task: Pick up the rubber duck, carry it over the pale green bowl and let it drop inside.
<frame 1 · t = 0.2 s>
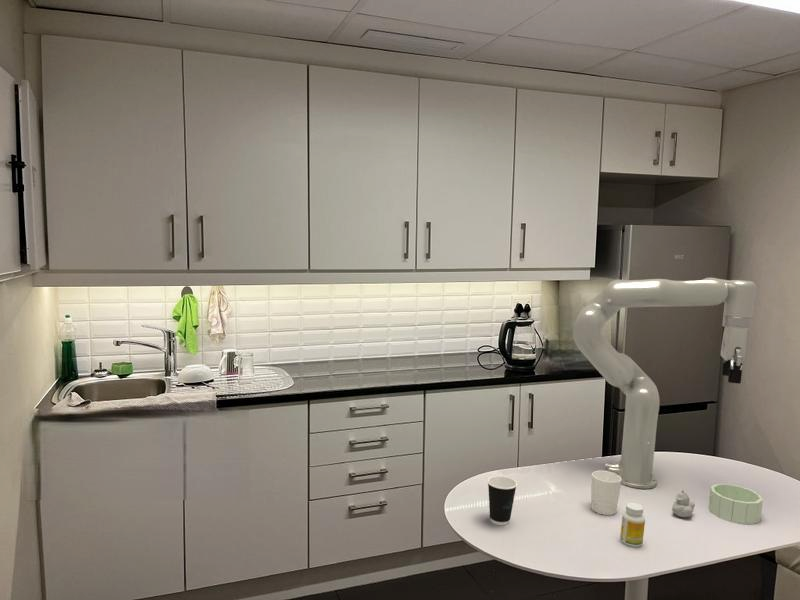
hand: (730, 379, 178), 36 cm above the table, tool pointing down, fingers open, 9 cm apart
pale green bowl: (733, 513, 170), on the table
dixie cup: (499, 521, 160), on the table
rubber duck: (682, 516, 168), on the table
white cup: (603, 510, 169), on the table
supplement bottle: (631, 542, 152), on the table
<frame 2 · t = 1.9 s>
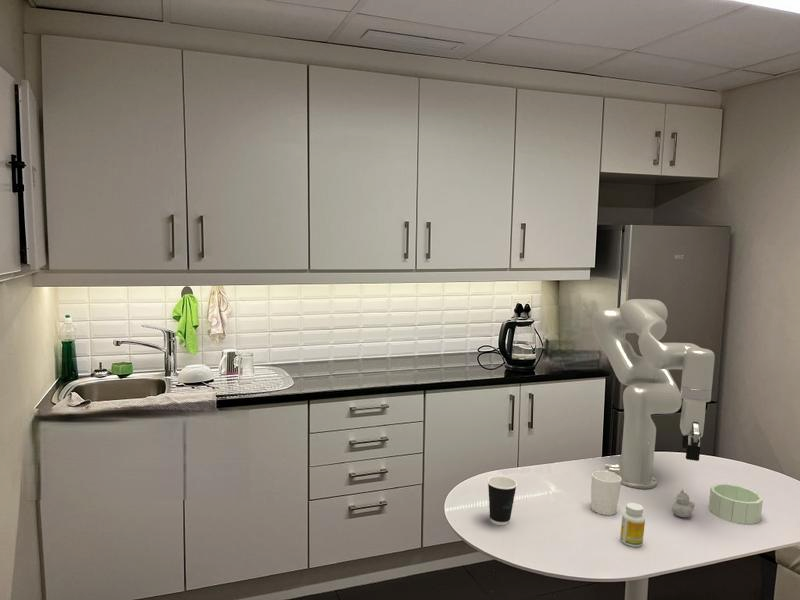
hand: (690, 453, 165), 18 cm above the table, tool pointing down, fingers open, 9 cm apart
nothing on the table moved.
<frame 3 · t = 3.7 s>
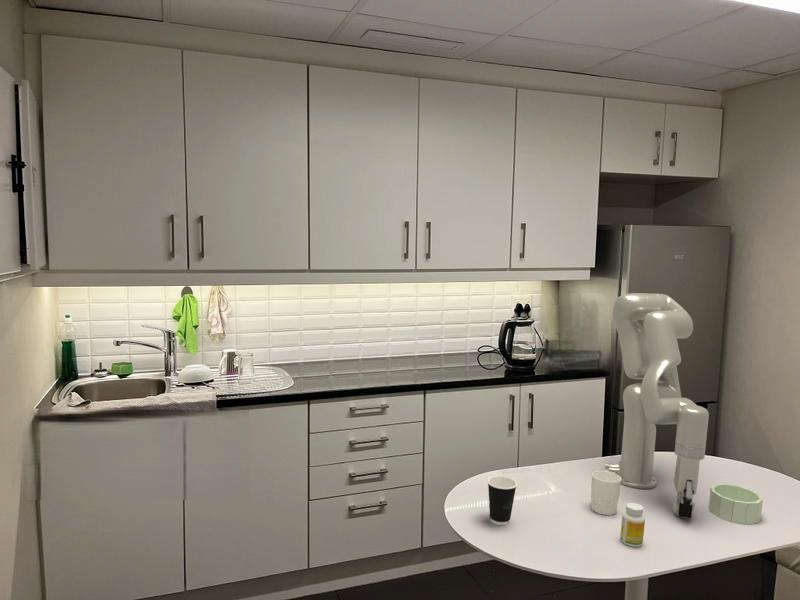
hand: (683, 511, 167), 1 cm above the table, tool pointing down, fingers closed on rubber duck, 5 cm apart
rubber duck: (682, 516, 168), on the table, touching gripper
everything else where it was.
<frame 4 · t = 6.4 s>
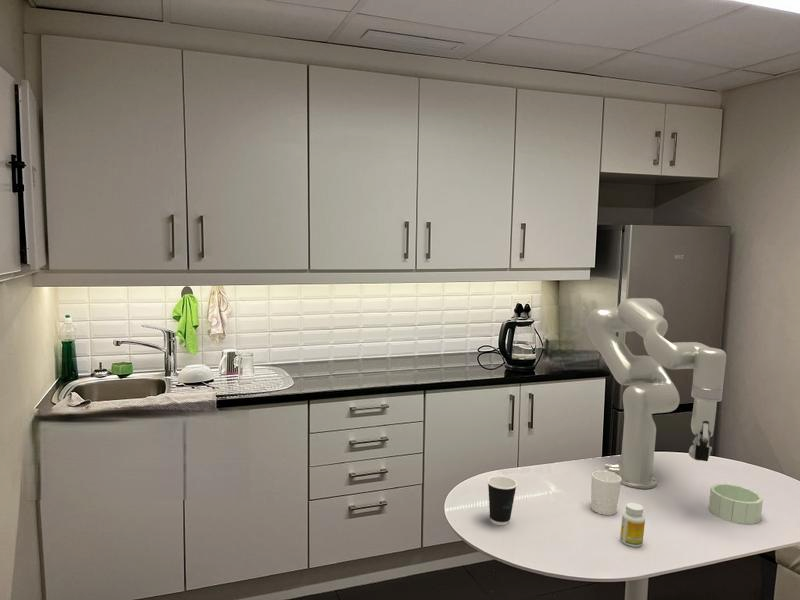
hand: (700, 455, 166), 17 cm above the table, tool pointing down, fingers closed on rubber duck, 5 cm apart
rubber duck: (699, 460, 166), point 16 cm above the table, touching gripper
everything else where it was.
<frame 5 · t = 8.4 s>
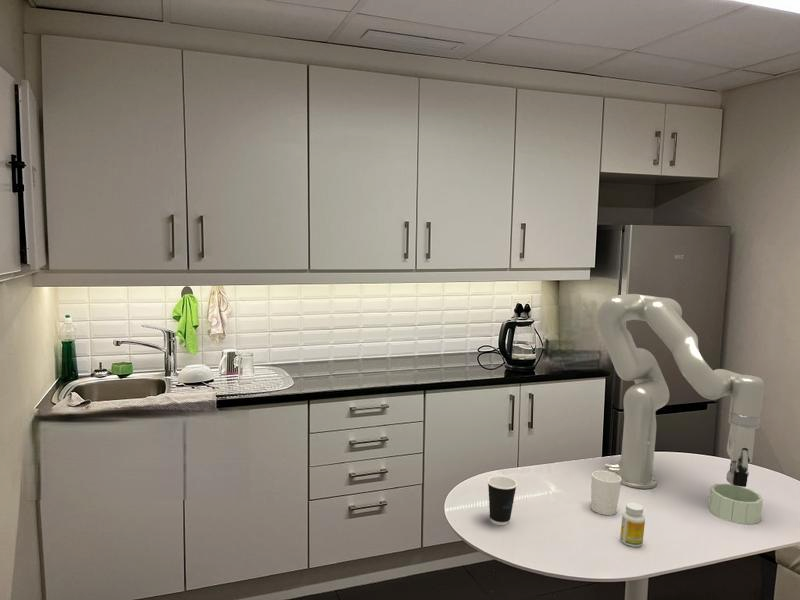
hand: (737, 481, 169), 10 cm above the table, tool pointing down, fingers closed on rubber duck, 5 cm apart
rubber duck: (736, 485, 169), point 8 cm above the table, touching gripper
everything else where it was.
when the fingers open (9 cm above the table, at t = 9.2 s): rubber duck drops 7 cm, resting on pale green bowl.
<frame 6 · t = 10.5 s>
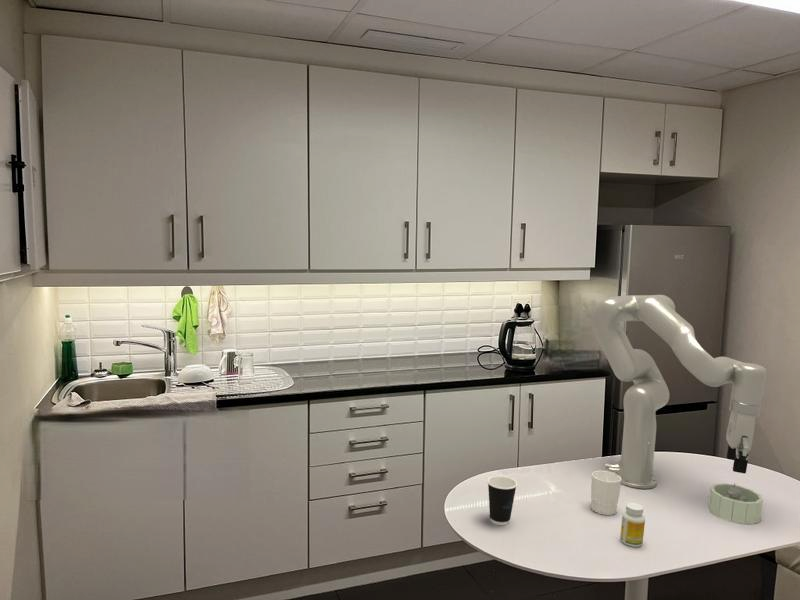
hand: (735, 465, 169), 14 cm above the table, tool pointing down, fingers open, 9 cm apart
rubber duck: (734, 510, 170), point 1 cm above the table, touching pale green bowl
everything else where it was.
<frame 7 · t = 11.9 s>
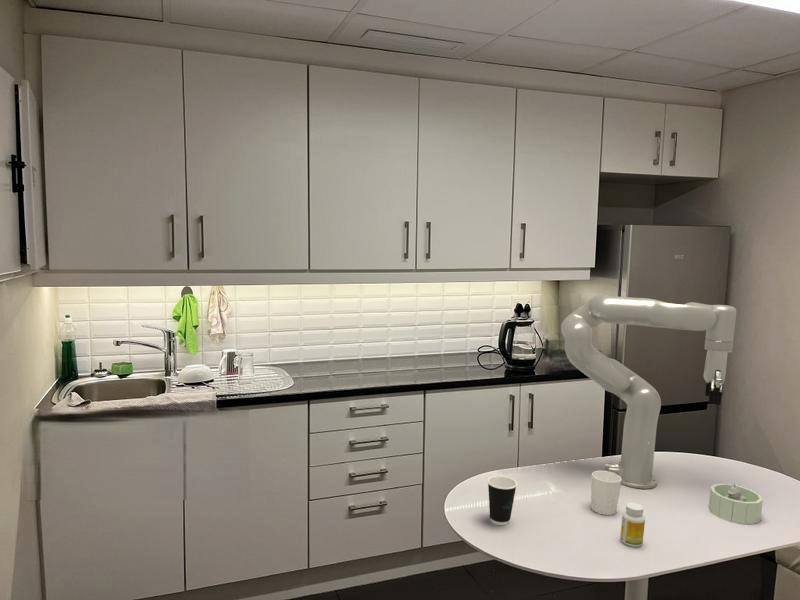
hand: (712, 400, 184), 28 cm above the table, tool pointing down, fingers open, 9 cm apart
nothing on the table moved.
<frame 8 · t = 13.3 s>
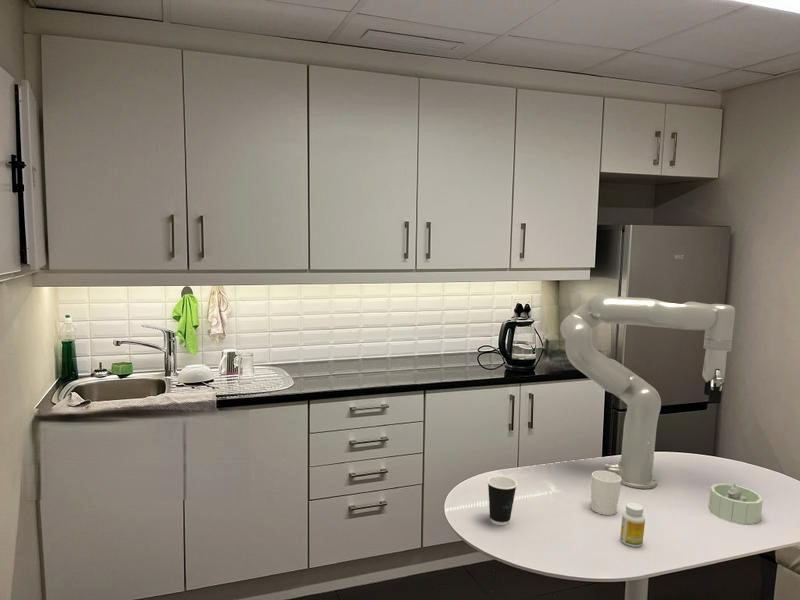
hand: (711, 398, 185), 28 cm above the table, tool pointing down, fingers open, 9 cm apart
nothing on the table moved.
at the end: rubber duck inside the target area on the pale green bowl (0.2 cm from its centre), point 0.8 cm above the pale green bowl's base; the gripper is holding nothing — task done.
